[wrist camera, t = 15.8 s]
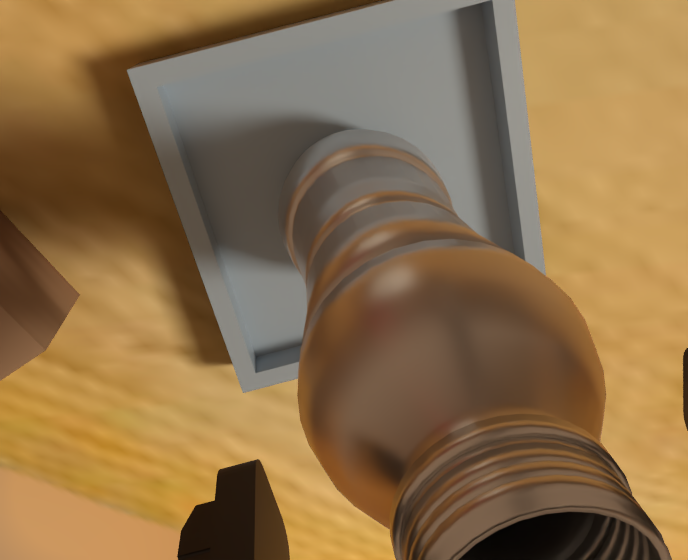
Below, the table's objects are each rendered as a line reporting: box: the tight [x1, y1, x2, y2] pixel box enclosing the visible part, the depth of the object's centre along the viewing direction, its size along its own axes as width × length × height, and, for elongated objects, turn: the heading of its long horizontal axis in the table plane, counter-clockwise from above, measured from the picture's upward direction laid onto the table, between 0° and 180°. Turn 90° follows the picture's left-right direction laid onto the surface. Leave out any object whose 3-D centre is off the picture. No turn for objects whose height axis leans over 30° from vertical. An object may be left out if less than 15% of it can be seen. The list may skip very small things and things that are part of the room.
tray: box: [127, 0, 546, 393], centre depth 27 cm, size 14×14×2 cm
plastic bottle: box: [278, 129, 672, 560], centre depth 18 cm, size 6×7×20 cm
